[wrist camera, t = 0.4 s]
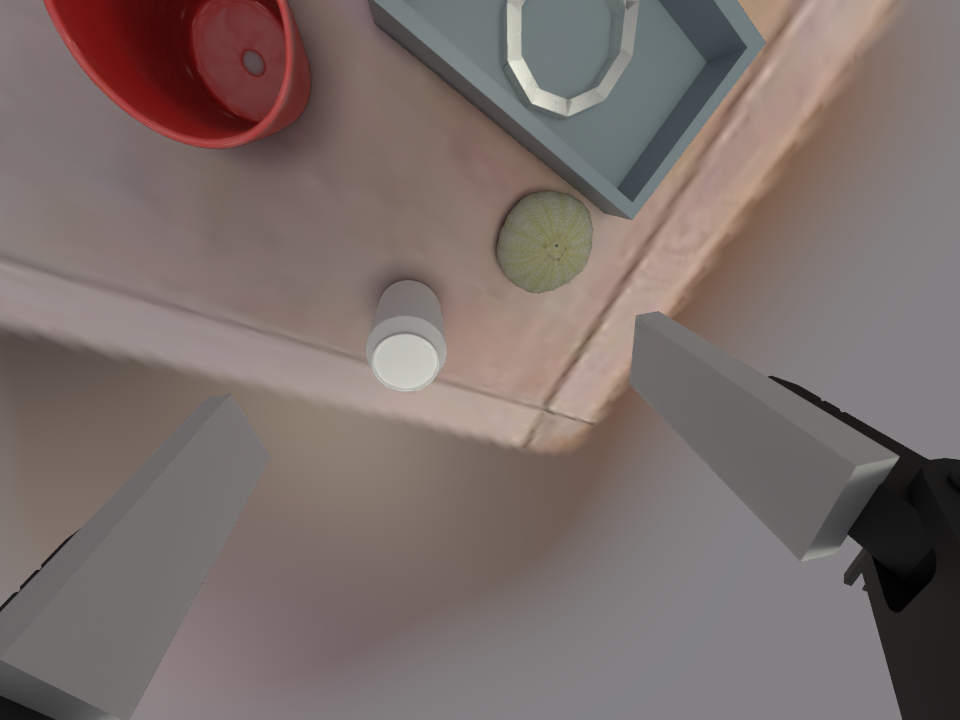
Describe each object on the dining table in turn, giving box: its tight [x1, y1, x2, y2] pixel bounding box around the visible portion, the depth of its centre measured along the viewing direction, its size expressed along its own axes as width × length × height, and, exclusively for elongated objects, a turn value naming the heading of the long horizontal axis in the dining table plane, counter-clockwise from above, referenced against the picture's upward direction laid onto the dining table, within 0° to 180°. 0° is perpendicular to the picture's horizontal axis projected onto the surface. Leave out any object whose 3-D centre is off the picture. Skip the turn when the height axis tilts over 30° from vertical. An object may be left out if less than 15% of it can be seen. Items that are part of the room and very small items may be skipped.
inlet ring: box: [501, 0, 640, 120], centre depth 25 cm, size 10×10×2 cm
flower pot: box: [43, 0, 311, 149], centre depth 21 cm, size 11×11×10 cm
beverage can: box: [365, 280, 447, 392], centre depth 30 cm, size 6×6×12 cm
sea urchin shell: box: [497, 190, 593, 294], centre depth 32 cm, size 9×8×8 cm
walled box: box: [368, 0, 766, 220], centre depth 25 cm, size 24×14×5 cm, turn 57°
